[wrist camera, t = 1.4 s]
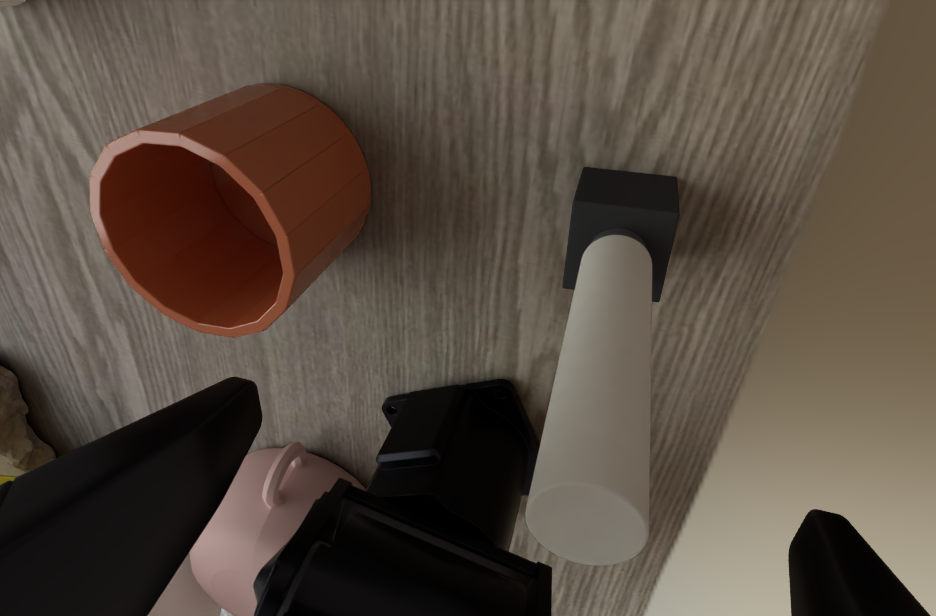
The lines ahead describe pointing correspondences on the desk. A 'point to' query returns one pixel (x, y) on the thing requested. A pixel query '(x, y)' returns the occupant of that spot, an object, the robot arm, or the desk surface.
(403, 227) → the desk surface
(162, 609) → the mug
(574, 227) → the plain black cube
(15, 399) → the stone
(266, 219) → the pen cup
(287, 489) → the mug
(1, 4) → the u-slot mount
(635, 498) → the plain white cylinder
